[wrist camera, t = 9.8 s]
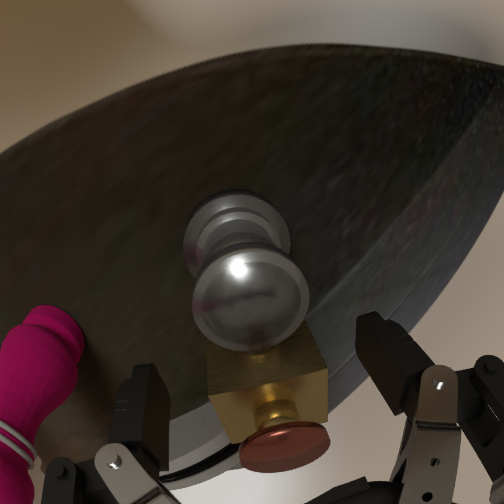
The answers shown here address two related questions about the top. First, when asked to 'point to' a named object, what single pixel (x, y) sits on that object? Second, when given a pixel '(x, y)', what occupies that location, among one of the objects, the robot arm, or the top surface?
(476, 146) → the top surface
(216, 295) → the door knob
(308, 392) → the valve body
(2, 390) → the pepper mill
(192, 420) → the hinge
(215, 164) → the top surface
